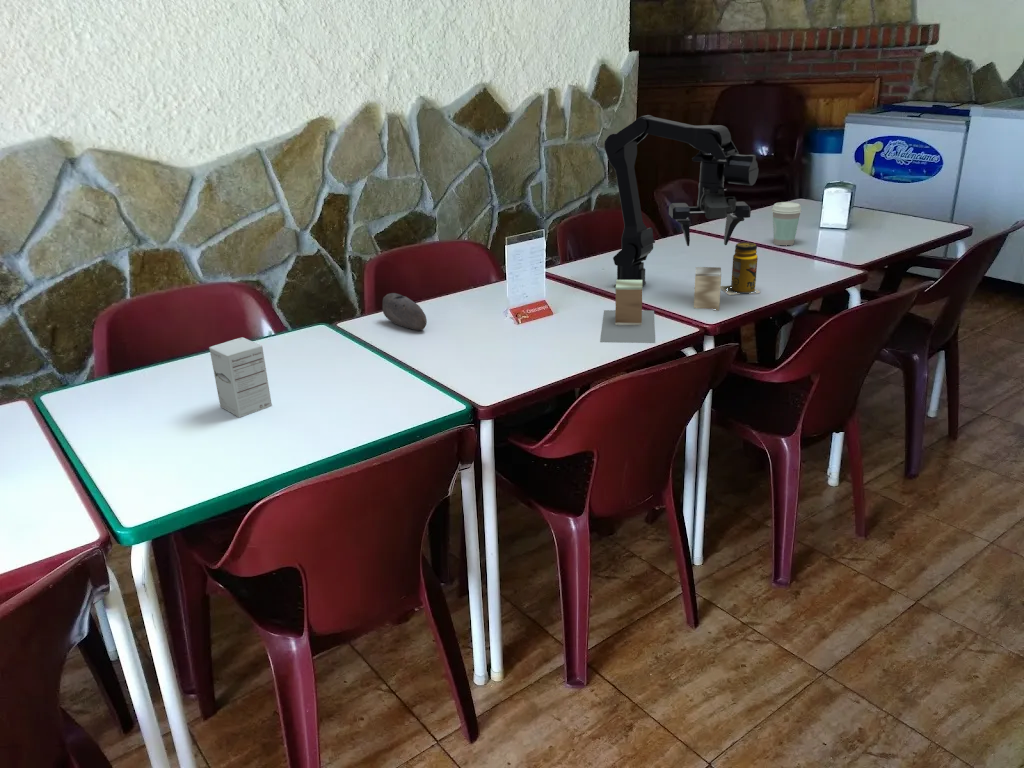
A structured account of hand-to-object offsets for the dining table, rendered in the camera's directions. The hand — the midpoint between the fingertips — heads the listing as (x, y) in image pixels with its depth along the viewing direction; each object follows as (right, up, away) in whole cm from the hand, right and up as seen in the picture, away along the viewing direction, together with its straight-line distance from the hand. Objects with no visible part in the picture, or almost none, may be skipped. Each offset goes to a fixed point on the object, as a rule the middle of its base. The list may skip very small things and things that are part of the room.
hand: (706, 245), depth 209 cm
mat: (-21, -21, -13) cm, 32 cm away
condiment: (+11, -10, +10) cm, 18 cm away
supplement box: (-99, -39, -46) cm, 116 cm away
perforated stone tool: (-73, -21, -6) cm, 76 cm away
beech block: (0, -15, -1) cm, 15 cm away
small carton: (-21, -19, -10) cm, 30 cm away
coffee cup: (+35, +9, +51) cm, 62 cm away
